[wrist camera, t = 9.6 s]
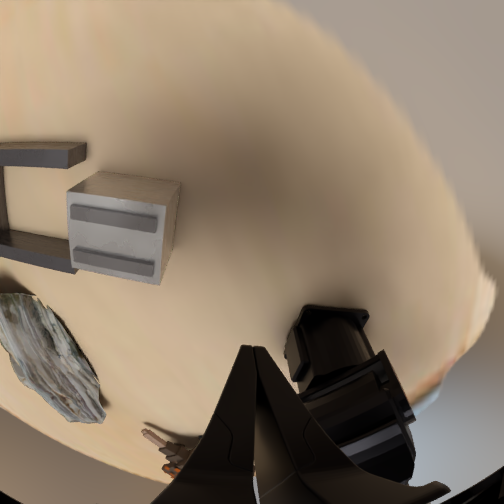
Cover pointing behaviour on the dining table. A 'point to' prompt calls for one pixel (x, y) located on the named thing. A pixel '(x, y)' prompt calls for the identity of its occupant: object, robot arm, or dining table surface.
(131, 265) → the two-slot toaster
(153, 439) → the video game creature
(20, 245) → the bracket
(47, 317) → the rock
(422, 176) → the dining table surface
